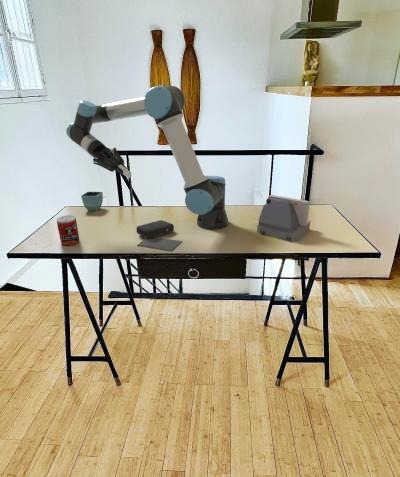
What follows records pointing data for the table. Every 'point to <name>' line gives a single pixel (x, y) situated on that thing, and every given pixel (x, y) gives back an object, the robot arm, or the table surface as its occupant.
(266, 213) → the grey tapered box
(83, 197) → the flower pot
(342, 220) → the table surface
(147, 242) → the mat
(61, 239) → the canned food
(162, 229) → the card reader
